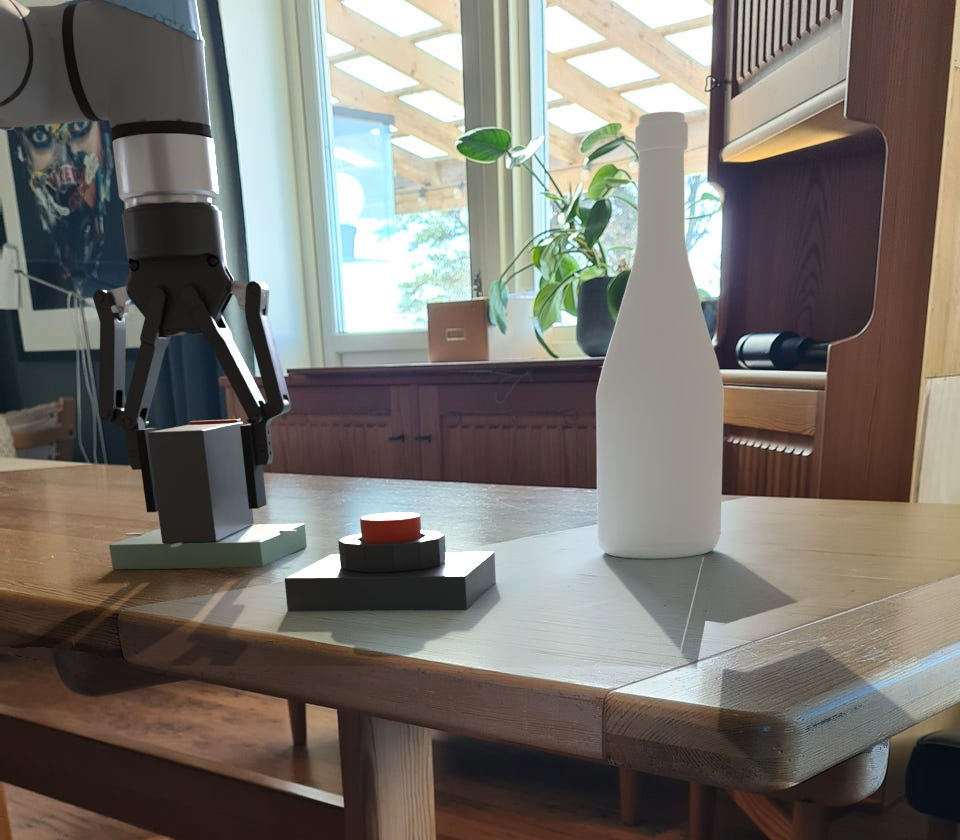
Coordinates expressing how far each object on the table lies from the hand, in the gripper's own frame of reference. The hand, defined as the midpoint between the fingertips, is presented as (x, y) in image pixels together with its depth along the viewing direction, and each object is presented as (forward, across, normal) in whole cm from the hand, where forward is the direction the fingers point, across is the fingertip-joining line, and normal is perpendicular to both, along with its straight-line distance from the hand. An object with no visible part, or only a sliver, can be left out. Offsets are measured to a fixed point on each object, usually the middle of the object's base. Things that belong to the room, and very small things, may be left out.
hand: (207, 508), depth 107 cm
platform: (+4, 0, 0) cm, 4 cm away
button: (0, -19, +21) cm, 28 cm away
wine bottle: (+4, -37, +4) cm, 38 cm away
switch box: (+4, -19, +21) cm, 29 cm away
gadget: (+2, 0, 0) cm, 2 cm away
